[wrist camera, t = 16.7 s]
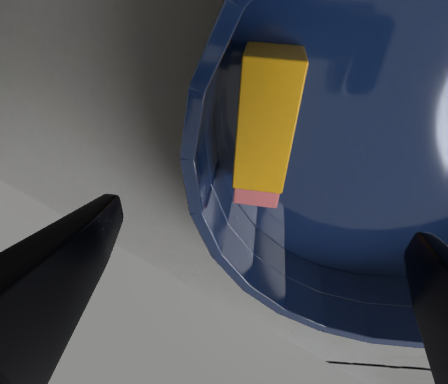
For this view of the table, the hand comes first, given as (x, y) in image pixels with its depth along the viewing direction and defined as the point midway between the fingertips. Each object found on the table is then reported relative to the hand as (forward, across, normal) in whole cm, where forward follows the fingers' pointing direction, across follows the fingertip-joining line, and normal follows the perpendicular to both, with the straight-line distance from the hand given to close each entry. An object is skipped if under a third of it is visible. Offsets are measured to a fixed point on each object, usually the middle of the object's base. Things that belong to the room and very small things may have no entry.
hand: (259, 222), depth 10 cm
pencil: (+7, 0, 0) cm, 7 cm away
